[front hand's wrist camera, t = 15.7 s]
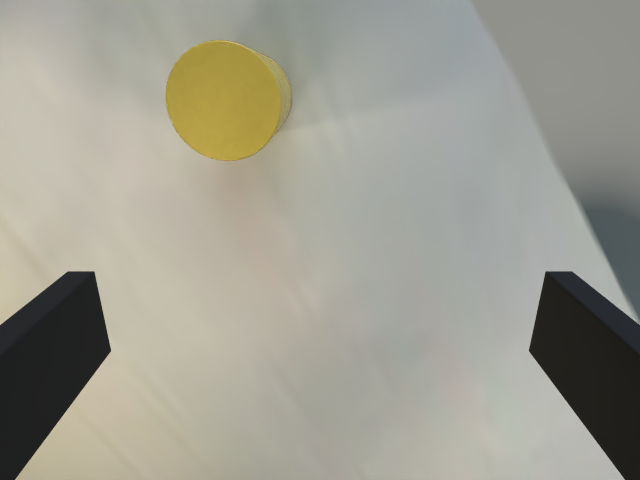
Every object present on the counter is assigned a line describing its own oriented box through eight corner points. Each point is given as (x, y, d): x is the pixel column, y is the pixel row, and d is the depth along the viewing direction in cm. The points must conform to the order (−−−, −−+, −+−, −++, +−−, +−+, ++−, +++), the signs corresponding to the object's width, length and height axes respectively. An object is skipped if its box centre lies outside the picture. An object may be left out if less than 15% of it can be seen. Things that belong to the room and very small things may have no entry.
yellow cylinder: (291, 139, 30) (280, 163, 21) (212, 136, 30) (170, 158, 21) (292, 54, 28) (281, 42, 19) (208, 50, 28) (160, 37, 19)
